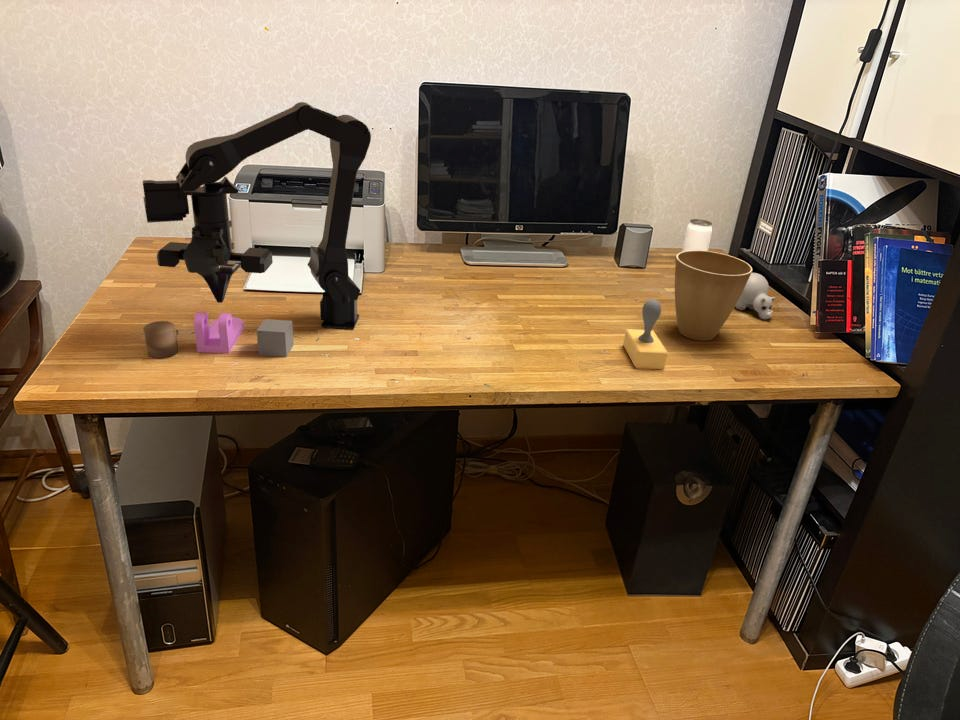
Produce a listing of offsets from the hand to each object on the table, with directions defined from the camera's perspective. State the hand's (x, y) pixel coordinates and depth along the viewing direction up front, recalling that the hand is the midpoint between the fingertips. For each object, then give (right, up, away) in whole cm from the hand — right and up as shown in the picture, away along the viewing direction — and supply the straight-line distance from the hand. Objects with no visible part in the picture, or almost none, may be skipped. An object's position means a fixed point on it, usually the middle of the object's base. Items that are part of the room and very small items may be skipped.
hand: (220, 301), depth 129 cm
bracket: (-1, -7, +3) cm, 7 cm away
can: (+104, +14, +60) cm, 121 cm away
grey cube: (+10, -9, 0) cm, 14 cm away
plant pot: (+94, -5, +20) cm, 96 cm away
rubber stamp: (+79, -10, +8) cm, 80 cm away
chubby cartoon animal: (+110, 0, +33) cm, 115 cm away
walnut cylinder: (-9, -9, -4) cm, 13 cm away
